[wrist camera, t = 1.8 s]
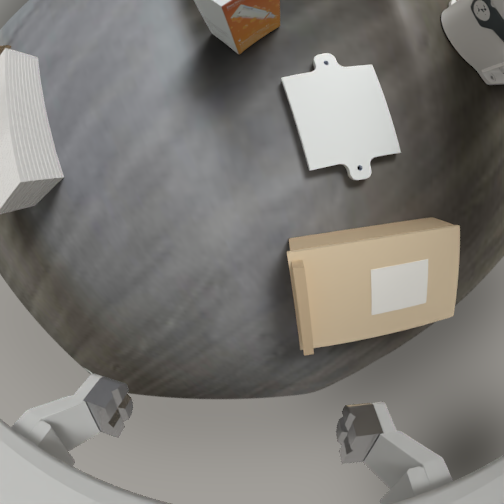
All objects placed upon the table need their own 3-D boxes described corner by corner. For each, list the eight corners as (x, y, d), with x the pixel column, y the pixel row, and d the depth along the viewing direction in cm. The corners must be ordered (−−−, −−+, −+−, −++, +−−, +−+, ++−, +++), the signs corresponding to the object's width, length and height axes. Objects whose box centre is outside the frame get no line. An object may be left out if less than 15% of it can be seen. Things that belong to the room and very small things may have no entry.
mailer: (431, 217, 33) (453, 224, 28) (430, 297, 37) (447, 313, 31) (288, 238, 37) (290, 250, 31) (300, 322, 40) (303, 345, 34)
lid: (457, 224, 27) (471, 229, 24) (451, 314, 30) (462, 324, 27) (286, 251, 31) (287, 260, 27) (300, 346, 34) (301, 362, 31)
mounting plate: (276, 67, 31) (275, 62, 29) (362, 54, 29) (365, 49, 27) (313, 189, 35) (315, 189, 33) (399, 170, 33) (404, 170, 31)
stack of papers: (64, 177, 38) (20, 182, 27) (35, 205, 40) (-5, 215, 29) (38, 57, 31) (5, 47, 21) (12, 88, 33) (-21, 84, 23)
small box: (239, 56, 30) (220, 7, 18) (210, 33, 29) (183, -14, 17) (282, 26, 28) (280, -28, 16) (252, 5, 27) (240, -48, 15)
